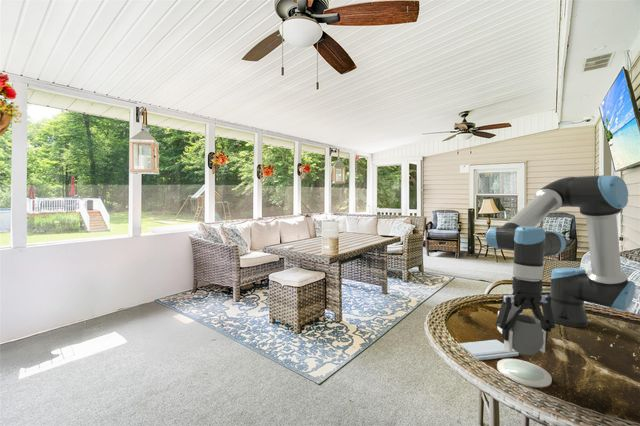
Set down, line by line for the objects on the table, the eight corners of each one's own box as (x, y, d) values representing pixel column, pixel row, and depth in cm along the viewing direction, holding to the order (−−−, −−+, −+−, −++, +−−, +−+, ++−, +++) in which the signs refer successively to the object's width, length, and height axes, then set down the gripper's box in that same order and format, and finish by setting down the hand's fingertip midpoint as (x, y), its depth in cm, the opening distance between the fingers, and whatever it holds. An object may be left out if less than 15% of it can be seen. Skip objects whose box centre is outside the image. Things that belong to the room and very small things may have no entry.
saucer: (529, 361, 102) (529, 357, 102) (564, 387, 88) (564, 383, 88) (487, 361, 102) (487, 358, 102) (515, 387, 88) (516, 384, 88)
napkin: (496, 342, 116) (496, 338, 115) (518, 355, 106) (518, 352, 106) (458, 346, 112) (458, 342, 112) (477, 360, 103) (477, 356, 102)
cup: (529, 361, 89) (531, 327, 88) (499, 346, 97) (500, 315, 97) (550, 355, 92) (551, 322, 92) (519, 341, 101) (520, 311, 100)
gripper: (553, 274, 98) (549, 344, 99) (484, 274, 97) (481, 344, 98) (573, 281, 90) (569, 356, 91) (499, 281, 89) (495, 356, 91)
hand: (524, 350), depth 95 cm, fingers closed on cup, 9 cm apart
